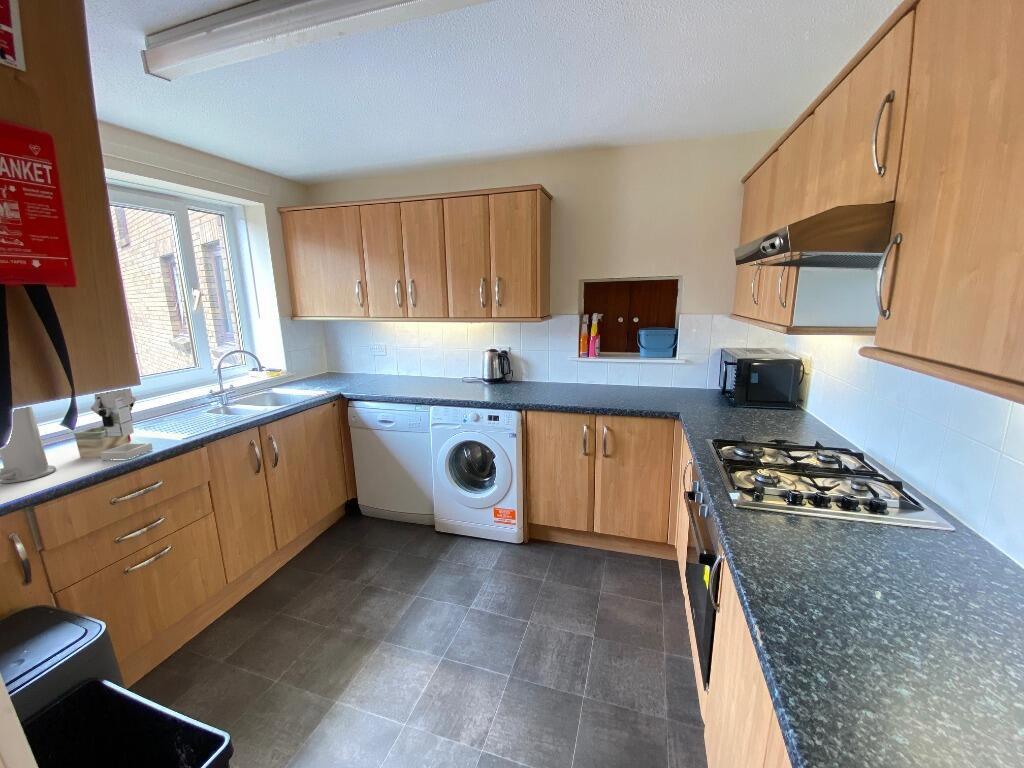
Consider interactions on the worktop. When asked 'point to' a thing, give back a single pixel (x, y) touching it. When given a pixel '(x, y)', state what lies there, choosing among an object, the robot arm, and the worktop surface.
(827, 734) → the worktop surface
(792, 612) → the worktop surface
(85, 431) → the raised stand
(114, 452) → the grey collar
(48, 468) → the robot arm
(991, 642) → the worktop surface
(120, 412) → the syrup box
